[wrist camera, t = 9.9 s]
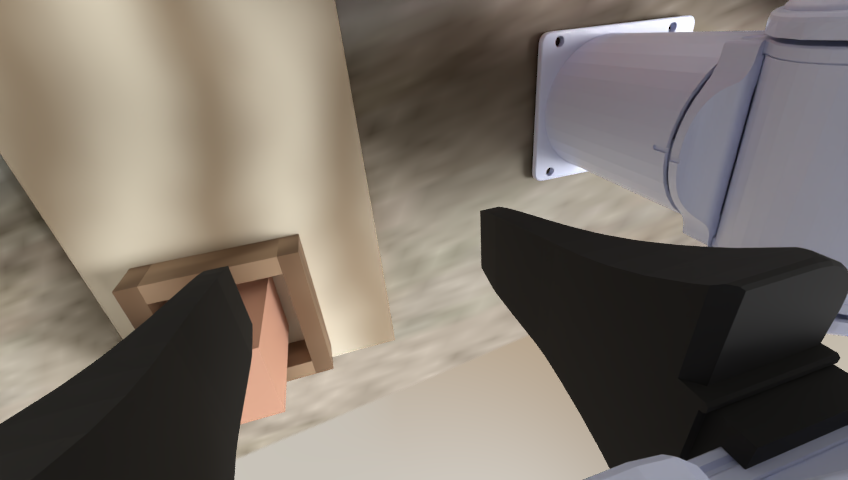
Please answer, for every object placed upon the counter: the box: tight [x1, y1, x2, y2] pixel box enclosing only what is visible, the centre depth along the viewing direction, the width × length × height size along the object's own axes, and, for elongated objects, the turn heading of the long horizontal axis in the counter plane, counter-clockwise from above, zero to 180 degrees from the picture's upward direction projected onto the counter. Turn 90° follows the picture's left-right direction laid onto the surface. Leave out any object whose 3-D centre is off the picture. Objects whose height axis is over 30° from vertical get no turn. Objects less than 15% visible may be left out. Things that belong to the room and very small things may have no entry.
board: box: [0, 0, 395, 382], centre depth 18 cm, size 14×20×3 cm
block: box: [236, 277, 289, 424], centre depth 18 cm, size 4×4×6 cm
